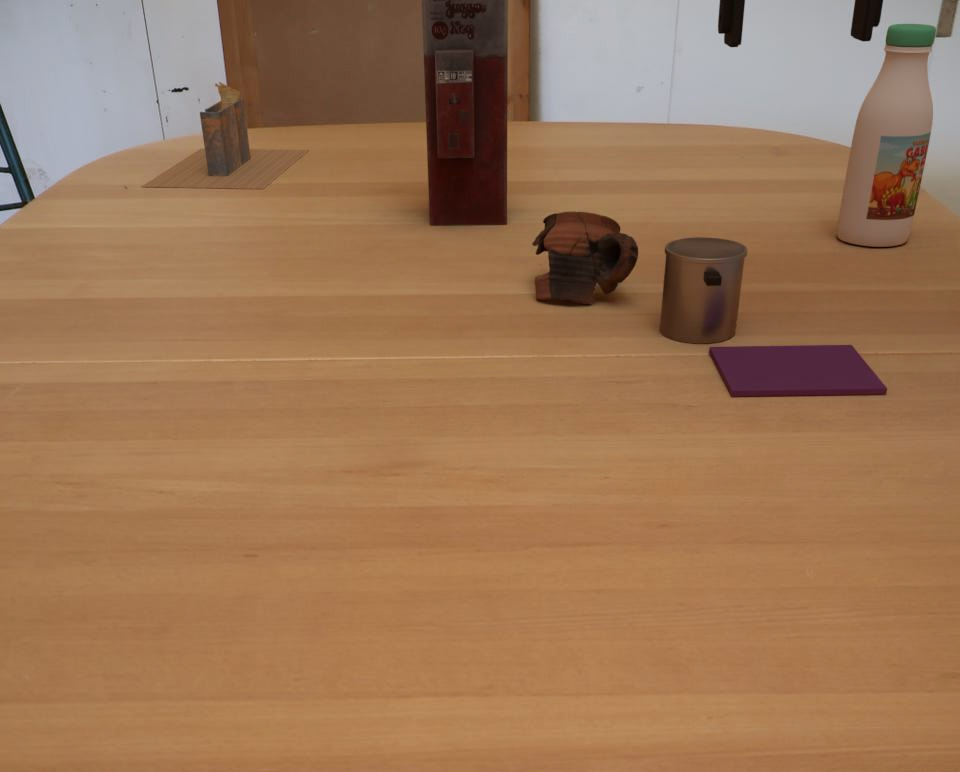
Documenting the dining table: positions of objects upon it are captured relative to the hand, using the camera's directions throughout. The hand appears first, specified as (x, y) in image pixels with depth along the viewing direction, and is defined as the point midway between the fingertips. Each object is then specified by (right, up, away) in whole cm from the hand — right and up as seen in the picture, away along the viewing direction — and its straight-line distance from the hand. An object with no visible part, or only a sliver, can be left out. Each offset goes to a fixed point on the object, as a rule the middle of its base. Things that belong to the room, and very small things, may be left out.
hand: (796, 42), depth 85 cm
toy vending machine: (-25, +8, +48) cm, 55 cm away
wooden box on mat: (-59, +26, +71) cm, 96 cm away
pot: (-5, -17, +15) cm, 23 cm away
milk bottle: (+19, +1, +38) cm, 43 cm away
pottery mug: (-14, -10, +24) cm, 29 cm away
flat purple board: (+2, -23, +6) cm, 24 cm away
